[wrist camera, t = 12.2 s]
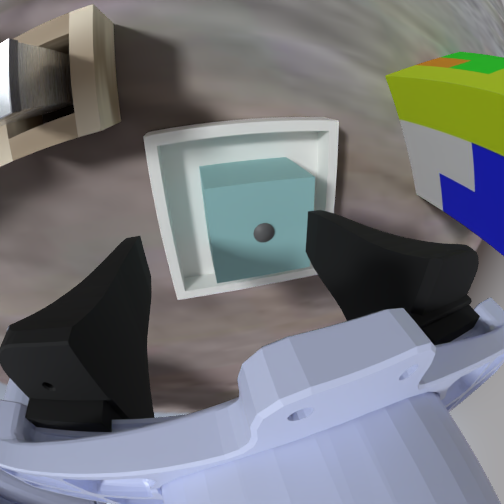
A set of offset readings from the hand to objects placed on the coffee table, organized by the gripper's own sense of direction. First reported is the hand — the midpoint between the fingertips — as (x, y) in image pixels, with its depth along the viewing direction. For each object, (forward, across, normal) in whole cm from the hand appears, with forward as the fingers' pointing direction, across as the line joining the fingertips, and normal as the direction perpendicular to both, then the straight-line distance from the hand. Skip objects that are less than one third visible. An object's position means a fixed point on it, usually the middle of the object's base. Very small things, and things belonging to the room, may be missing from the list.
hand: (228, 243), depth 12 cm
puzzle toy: (+6, -18, -6) cm, 20 cm away
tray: (+6, -2, +1) cm, 6 cm away
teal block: (+5, -2, 0) cm, 6 cm away
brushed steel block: (+6, +8, -8) cm, 13 cm away
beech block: (+6, +8, -8) cm, 13 cm away
